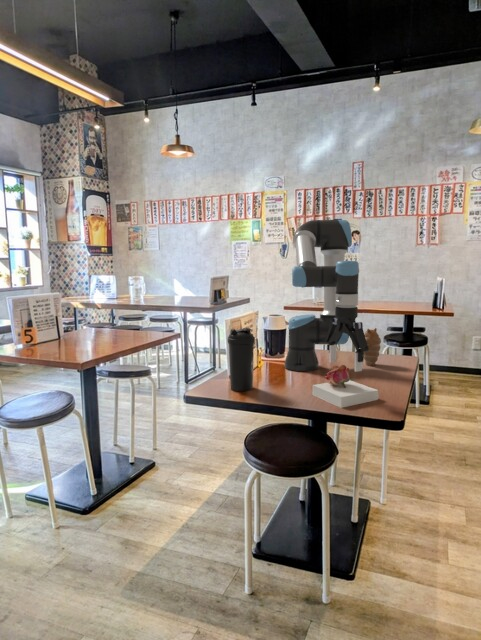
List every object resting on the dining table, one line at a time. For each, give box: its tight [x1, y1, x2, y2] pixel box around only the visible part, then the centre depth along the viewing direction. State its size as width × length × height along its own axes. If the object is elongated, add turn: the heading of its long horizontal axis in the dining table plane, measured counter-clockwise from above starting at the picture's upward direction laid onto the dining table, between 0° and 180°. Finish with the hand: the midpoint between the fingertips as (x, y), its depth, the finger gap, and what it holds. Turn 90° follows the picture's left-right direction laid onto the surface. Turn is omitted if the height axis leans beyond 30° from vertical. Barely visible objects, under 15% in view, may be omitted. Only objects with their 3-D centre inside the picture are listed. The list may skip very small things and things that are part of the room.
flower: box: [323, 364, 353, 388], centre depth 160 cm, size 10×9×8 cm
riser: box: [312, 379, 379, 409], centre depth 159 cm, size 16×16×4 cm
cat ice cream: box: [363, 327, 382, 367], centre depth 201 cm, size 9×8×18 cm
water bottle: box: [227, 327, 256, 392], centre depth 172 cm, size 10×10×23 cm
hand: (345, 366), depth 157 cm, fingers open, 13 cm apart
